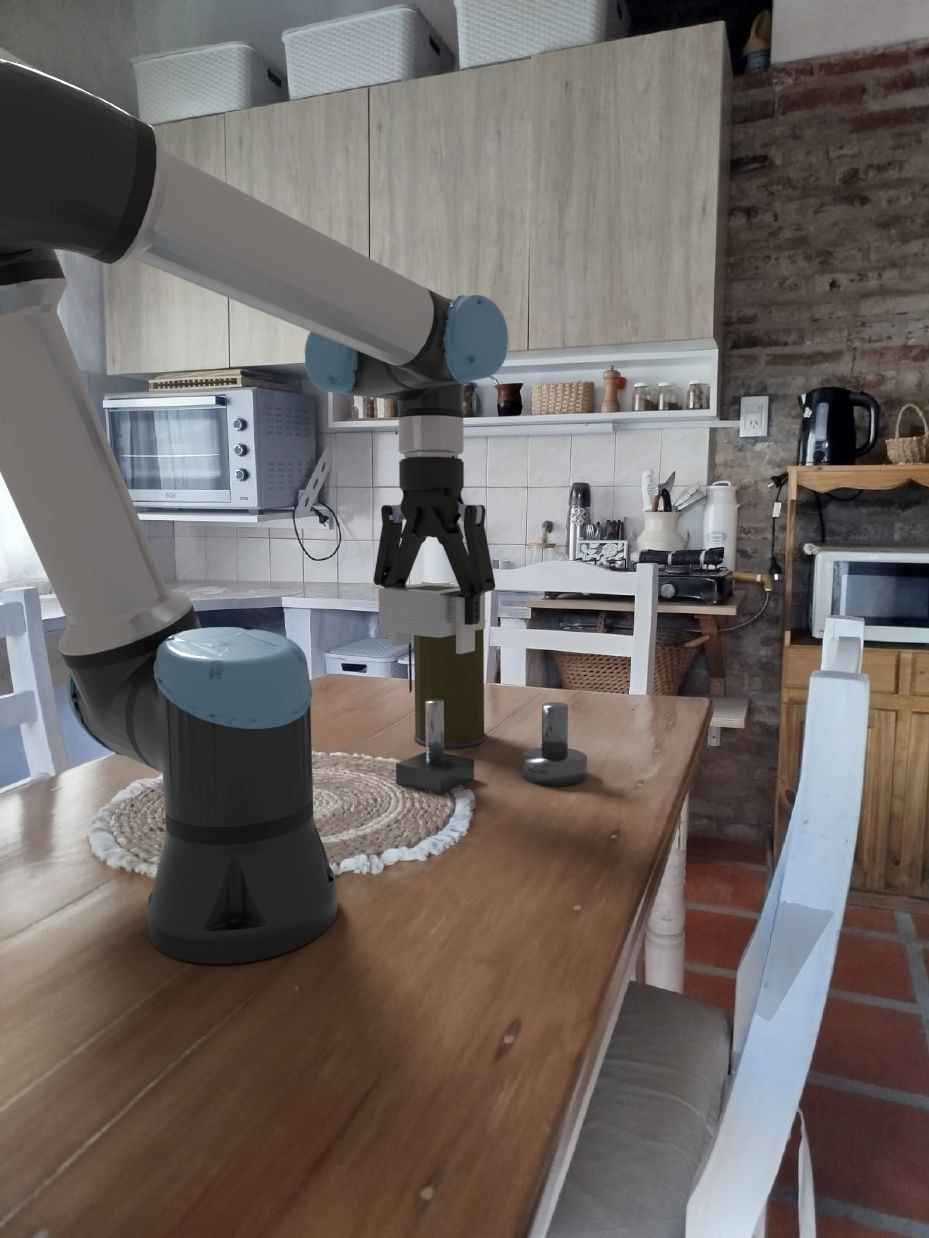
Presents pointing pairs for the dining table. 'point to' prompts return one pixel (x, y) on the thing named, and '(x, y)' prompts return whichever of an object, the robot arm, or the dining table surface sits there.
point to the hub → (554, 752)
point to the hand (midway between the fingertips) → (432, 647)
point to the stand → (435, 759)
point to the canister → (449, 688)
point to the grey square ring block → (422, 610)
